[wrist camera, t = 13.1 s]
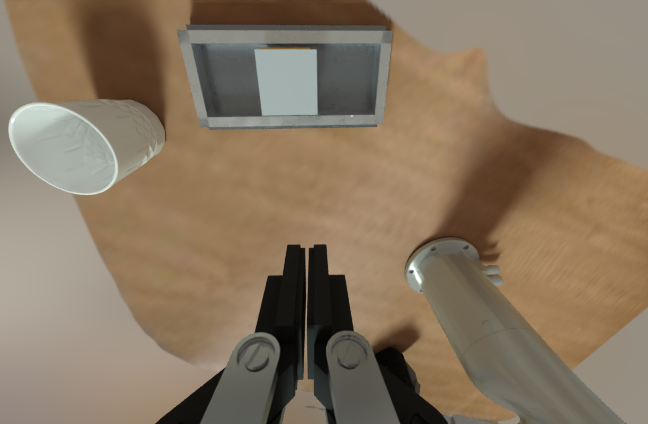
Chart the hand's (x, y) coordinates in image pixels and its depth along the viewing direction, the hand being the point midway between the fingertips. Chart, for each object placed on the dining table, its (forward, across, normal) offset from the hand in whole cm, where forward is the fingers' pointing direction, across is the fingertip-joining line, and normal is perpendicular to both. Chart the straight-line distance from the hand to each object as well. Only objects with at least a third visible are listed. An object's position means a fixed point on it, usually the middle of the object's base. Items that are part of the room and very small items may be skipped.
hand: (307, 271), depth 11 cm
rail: (+24, +2, -7) cm, 25 cm away
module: (+22, +2, -7) cm, 24 cm away
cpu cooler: (+26, -16, +48) cm, 57 cm away
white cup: (+23, +21, -2) cm, 31 cm away
